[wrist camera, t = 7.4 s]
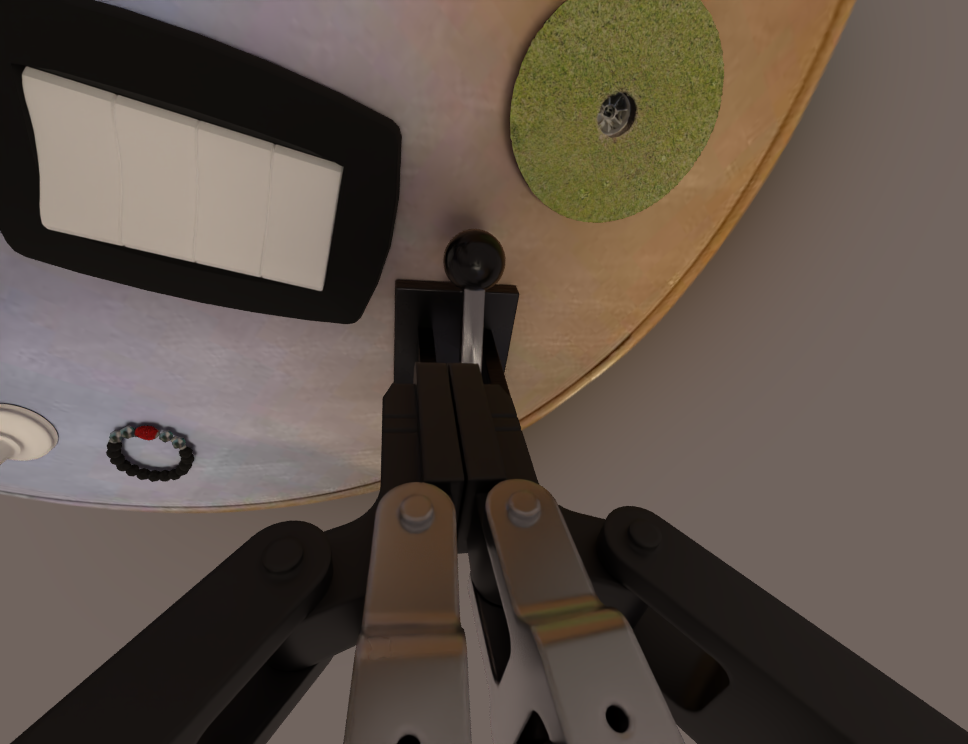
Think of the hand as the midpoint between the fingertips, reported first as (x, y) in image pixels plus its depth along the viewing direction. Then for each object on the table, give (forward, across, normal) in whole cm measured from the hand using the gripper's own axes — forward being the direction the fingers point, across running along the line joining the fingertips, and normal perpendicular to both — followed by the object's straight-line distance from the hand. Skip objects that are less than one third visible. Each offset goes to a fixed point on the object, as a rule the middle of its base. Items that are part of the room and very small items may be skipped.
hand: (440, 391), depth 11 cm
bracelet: (+19, +18, +22) cm, 34 cm away
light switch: (+19, +11, +1) cm, 22 cm away
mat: (+19, -10, -5) cm, 22 cm away
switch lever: (+13, -3, +7) cm, 15 cm away
